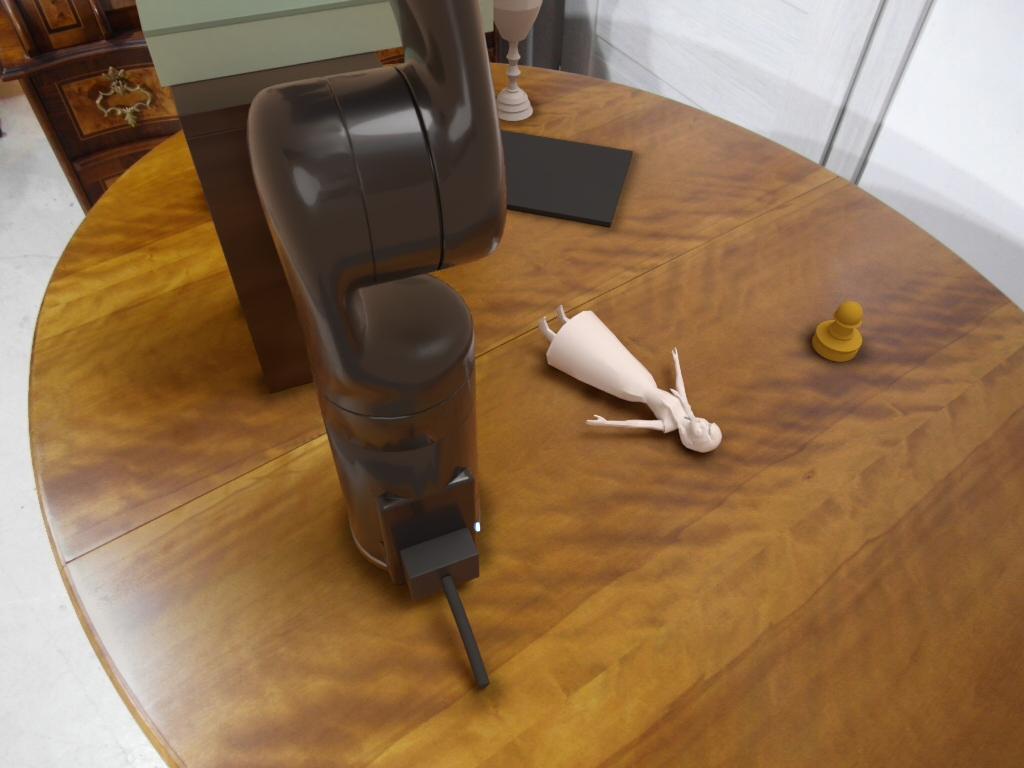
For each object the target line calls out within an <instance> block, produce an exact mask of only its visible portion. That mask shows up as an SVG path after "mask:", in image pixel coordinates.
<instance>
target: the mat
mask: <svg viewBox="0 0 1024 768" xmlns="http://www.w3.org/2000/svg"><path fill="white" fill-rule="evenodd" d="M500 130H501V137H502V143H503V150H504V159H505V169H506V185H507V210H513V211H519V212H525V213H530V214H535V215H540V216H548V217H553V218H558V219H564V220H569V221H575V222H580V223H586V224H592V225H597V226H603V227H609V228H610V227H611V226H612V223H613V220H614V216H615V213H616V210H617V207H618V203H619V200H620V198H621V197H620V196H621V193H622V190H623V187H624V183H625V180H626V177H627V175H628V170H629V167H630V164H631V160H632V157H633V153H634V151H633V150H629V149H622V148H617V147H610V146H603V145H597V144H593V143H592V144H591V143H587V142H586V143H585V142H579V141H572V140H568V139H567V140H566V139H561V138H553V137H549V136H541V135H535V134H528V133H522V132H516V131H512V130H511V131H510V130H504V129H500Z"/></svg>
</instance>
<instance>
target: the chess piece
mask: <svg viewBox="0 0 1024 768" xmlns="http://www.w3.org/2000/svg"><path fill="white" fill-rule="evenodd" d="M863 317H864V309H863V307H862V306H861V305H860V304H859V303H858V302H856V301H853V300H846V301H844V302H842V303H840V304H838V306H837V308H836V310H835V311H833V313H832V319H827V320H824V321H822V322H820V323H819V324H818V325H817V326H816V328H815V331H814V334H813V336H812V339H811V345H812V348H813V349H814V351H815V352H816V353H817V354H819V356H821V357H823V358H824V359H826V360H829V361H832V362H837V363H839V362H840V363H841V362H843V363H844V362H849V361H851V360H852V359H854V358H855V357H856V356H857V353H858V351H859V349H860V348H861V346H862V344H863V336H862V334H861V332H860V331H859V330H858V329H857V328H859V327H860V326H861V325H862V324H863Z"/></svg>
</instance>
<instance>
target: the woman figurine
mask: <svg viewBox="0 0 1024 768" xmlns="http://www.w3.org/2000/svg"><path fill="white" fill-rule="evenodd" d="M555 312H556V315H555V317H556V318H557V320H558V321H559V322H560V323H561V324H563V325H562V326H561V327H560V329H559V330H558V331H557V333H556V332H554V331H553V330H552V329H550V327H549V324H548V322H547V320H546V318H547V317H546V316H543V317H542V318H540V319H539V320H538V331H539V332H540V333H541V334H542V335H543V336H544V337H545V338H546V339H547V340H548V341H549V343H550V345H549V347H548V350H547V351H546V354H545V356H546V361H547V364H548V365H549V366H551V367H553V368H555V369H557V370H559V371H561V372H562V373H565V374H567V375H568V376H571V377H572V378H575V379H576V380H578V381H580V382H582V383H585V384H588V385H590V386H592V387H594V388H596V389H598V390H601V391H603V392H605V393H607V394H610V395H612V396H614V397H617V398H619V399H622V400H625V401H628V402H632V403H633V402H634V403H635V402H637V403H638V402H639V403H643V404H646V405H647V406H648V408H649V409H650V410H651V411H652V413H653V415H654V417H655V418H656V419H653V420H651V419H650V420H649V419H647V420H646V419H627V420H626V419H625V420H606V419H605V418H604V417H603V416H600V415H598V414H594V415H593V417H595V418H597V419H596V420H595V419H593V420H592V419H586V421H585V424H586V425H588V426H589V425H590V426H593V427H601V426H602V427H604V426H605V427H618V428H626V429H648V430H649V429H650V430H656V431H662V433H663V434H667V433H670V432H674V431H677V430H678V433H679V434H678V435H679V438H680V441H681V443H682V445H683V446H684V447H685V448H687V449H690V450H692V451H695V452H698V453H708V452H711V451H713V450H714V451H715V450H716V449H717V448H718V447H719V445H720V444H721V442H722V439H723V434H722V430H721V429H720V427H719V426H718V425H717V424H716V423H715V422H709V421H708V420H707V419H705V418H703V417H697V416H695V415H694V412H693V411H692V406H691V404H689V401H688V398H687V394H686V389H685V383H684V379H683V375H682V371H681V366H680V360H679V354H678V351H677V347H673V349H672V350H671V355H672V357H673V364H674V371H675V389H673V388H669V390H670V392H669V391H666V390H663V389H661V388H658V386H657V383H656V381H655V379H654V377H653V375H652V374H651V372H650V371H649V370H648V369H647V367H645V366H644V365H643V364H642V363H641V362H640V361H639V359H637V358H636V357H635V356H634V355H633V354H632V353H631V352H630V351H629V350H628V349H627V348H626V347H625V345H624V344H623V343H622V342H621V341H620V340H619V339H618V338H617V336H616V335H615V334H614V333H613V332H612V331H611V330H610V328H608V326H607V325H606V324H605V323H604V322H603V321H602V320H601V319H600V318H599V317H598V315H596V313H594V312H593V310H582V311H581V312H579V313H577V314H576V315H573V316H572V318H568V317H567V315H566V314H565V310H564V308H563V304H560V305H558V306H557V307H556V310H555Z"/></svg>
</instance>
